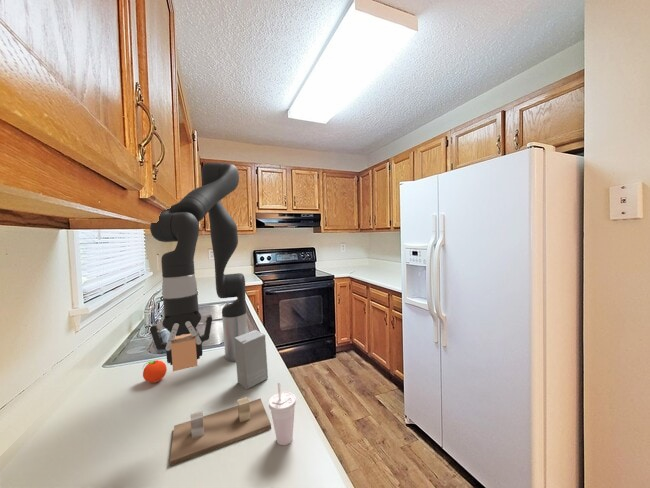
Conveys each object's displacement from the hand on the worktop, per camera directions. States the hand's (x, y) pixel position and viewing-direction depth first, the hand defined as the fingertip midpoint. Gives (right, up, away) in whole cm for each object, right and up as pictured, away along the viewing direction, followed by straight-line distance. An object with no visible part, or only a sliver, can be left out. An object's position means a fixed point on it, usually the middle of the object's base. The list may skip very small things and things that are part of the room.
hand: (185, 360), depth 67 cm
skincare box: (+11, -17, +22) cm, 30 cm away
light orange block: (0, -1, 0) cm, 1 cm away
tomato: (-24, -18, +25) cm, 39 cm away
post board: (+9, -18, +1) cm, 20 cm away
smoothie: (+25, -17, -3) cm, 31 cm away
